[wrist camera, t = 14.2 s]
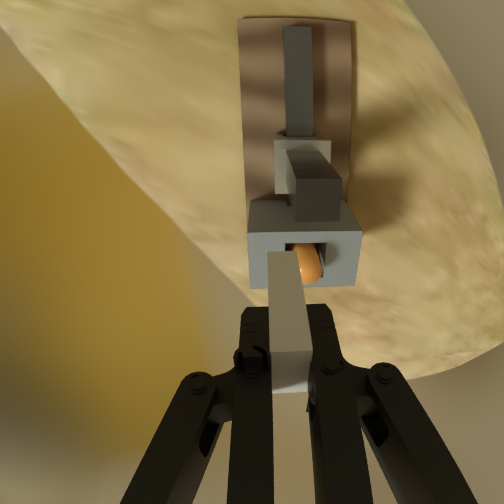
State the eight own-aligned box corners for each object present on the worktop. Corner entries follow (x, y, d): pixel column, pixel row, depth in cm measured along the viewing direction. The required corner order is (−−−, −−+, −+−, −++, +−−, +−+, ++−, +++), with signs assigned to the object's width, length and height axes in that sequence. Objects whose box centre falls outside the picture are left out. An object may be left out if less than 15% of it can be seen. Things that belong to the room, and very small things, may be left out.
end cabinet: (250, 200, 40) (247, 232, 32) (343, 199, 39) (362, 231, 31) (252, 248, 43) (250, 288, 35) (338, 247, 43) (354, 285, 35)
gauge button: (287, 224, 38) (293, 260, 31) (312, 224, 37) (323, 259, 31) (287, 246, 39) (292, 284, 32) (310, 246, 39) (320, 284, 32)
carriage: (272, 133, 35) (279, 163, 22) (323, 134, 35) (358, 164, 22) (273, 181, 38) (280, 235, 25) (321, 181, 38) (351, 234, 25)
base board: (237, 20, 29) (237, 18, 28) (348, 23, 28) (350, 22, 27) (248, 252, 44) (248, 255, 44) (340, 250, 44) (341, 253, 43)
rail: (282, 29, 28) (283, 26, 27) (308, 29, 28) (311, 27, 27) (285, 199, 39) (286, 205, 38) (309, 199, 39) (311, 205, 37)
